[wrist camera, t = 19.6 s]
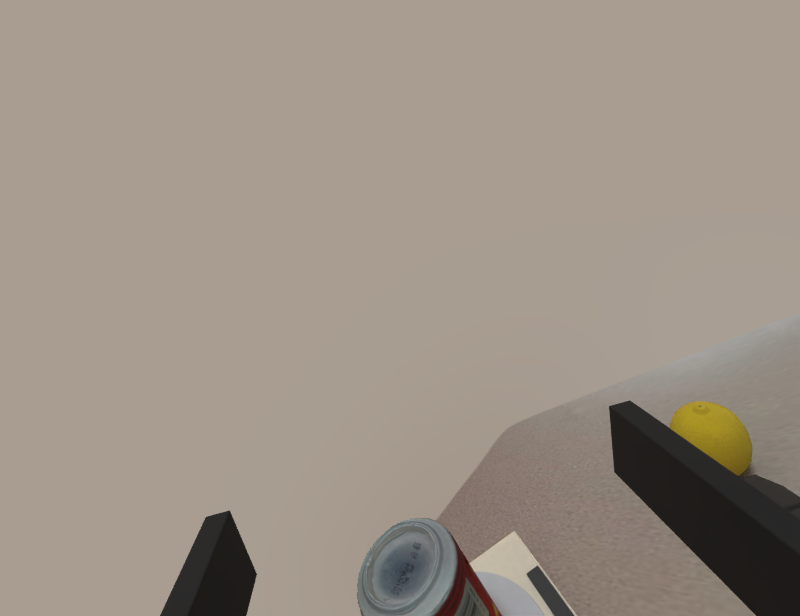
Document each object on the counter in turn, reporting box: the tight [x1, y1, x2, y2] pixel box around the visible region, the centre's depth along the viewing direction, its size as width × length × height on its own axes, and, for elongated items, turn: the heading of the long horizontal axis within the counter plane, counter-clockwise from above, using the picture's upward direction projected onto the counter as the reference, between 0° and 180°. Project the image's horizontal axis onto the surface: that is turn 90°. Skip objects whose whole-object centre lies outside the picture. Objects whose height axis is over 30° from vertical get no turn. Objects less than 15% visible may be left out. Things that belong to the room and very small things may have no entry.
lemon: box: [670, 402, 752, 476], centre depth 34 cm, size 6×6×8 cm
